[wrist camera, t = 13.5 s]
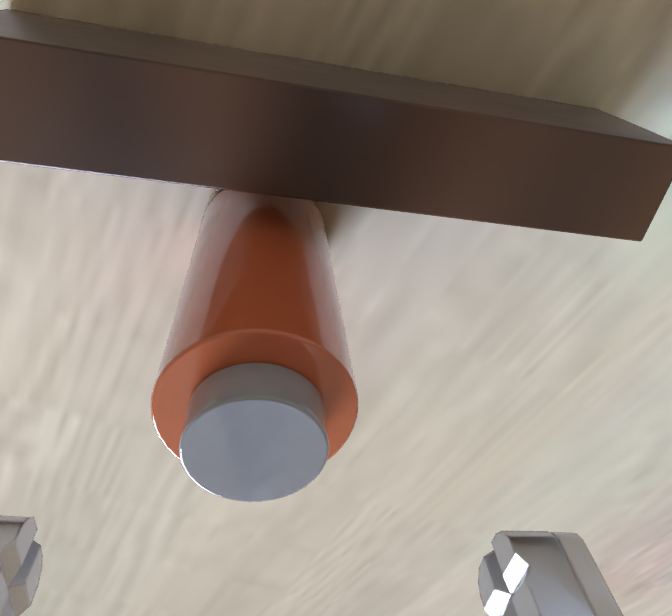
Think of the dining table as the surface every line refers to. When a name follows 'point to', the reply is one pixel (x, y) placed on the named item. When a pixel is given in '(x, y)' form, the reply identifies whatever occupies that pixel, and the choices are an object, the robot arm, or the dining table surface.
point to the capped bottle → (256, 352)
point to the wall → (317, 131)
